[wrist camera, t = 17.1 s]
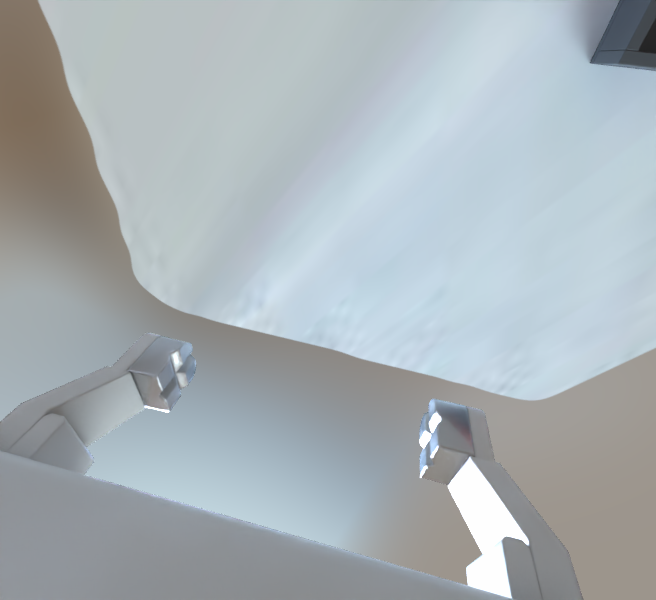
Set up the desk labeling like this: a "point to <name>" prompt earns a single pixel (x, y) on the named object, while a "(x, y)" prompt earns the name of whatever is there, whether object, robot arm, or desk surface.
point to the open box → (630, 36)
